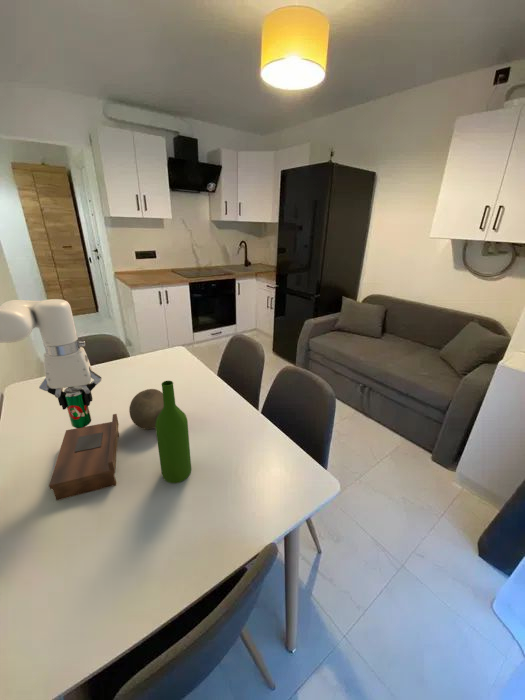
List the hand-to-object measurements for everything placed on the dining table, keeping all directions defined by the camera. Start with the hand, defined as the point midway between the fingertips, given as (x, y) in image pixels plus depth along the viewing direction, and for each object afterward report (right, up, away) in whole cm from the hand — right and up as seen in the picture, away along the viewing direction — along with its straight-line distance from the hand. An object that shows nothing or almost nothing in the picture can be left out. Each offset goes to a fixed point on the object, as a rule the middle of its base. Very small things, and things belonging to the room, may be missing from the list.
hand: (77, 404), depth 83 cm
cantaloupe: (+11, -14, +28) cm, 33 cm away
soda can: (0, -6, +3) cm, 7 cm away
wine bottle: (+26, -23, +8) cm, 36 cm away
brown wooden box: (-2, -21, +10) cm, 23 cm away
